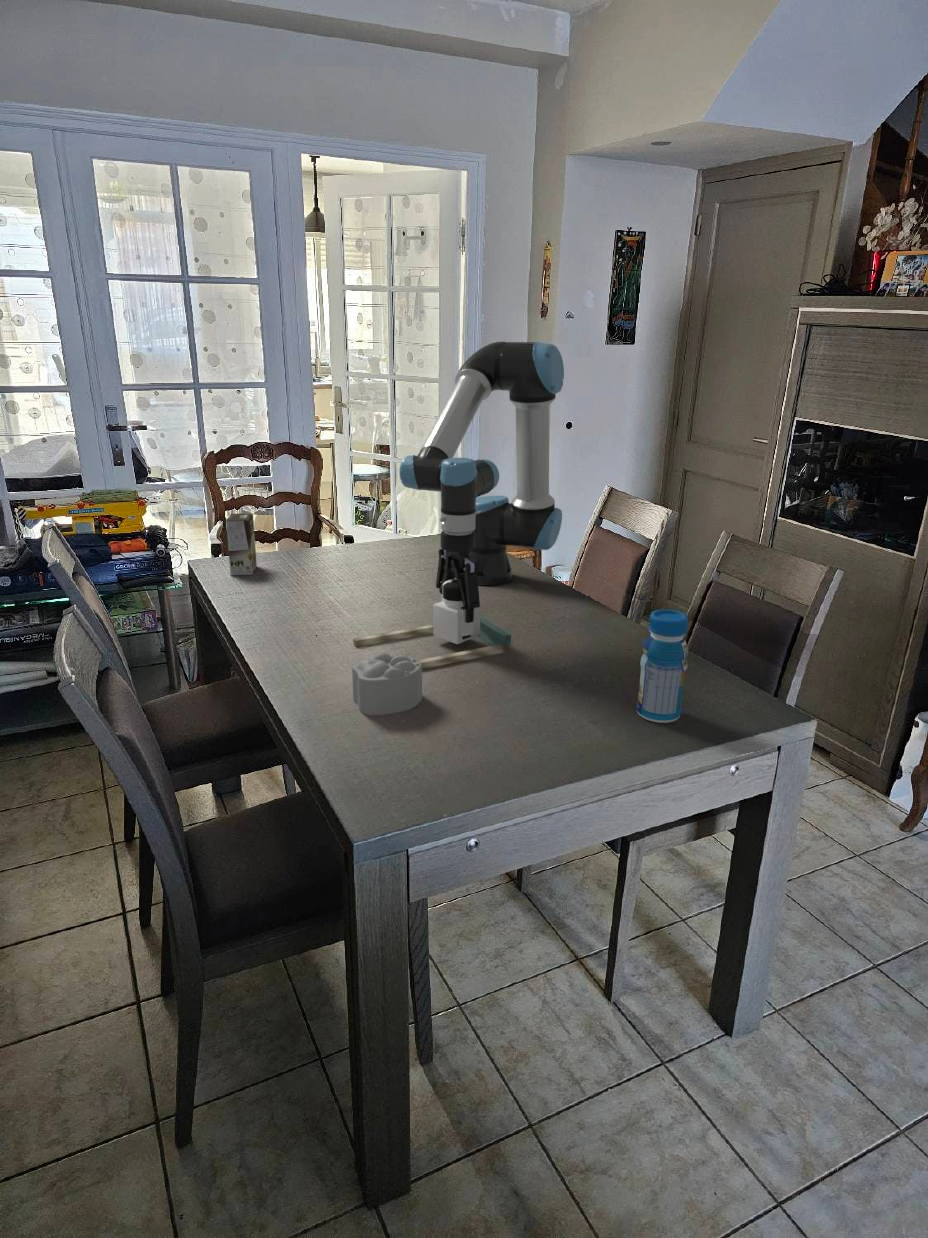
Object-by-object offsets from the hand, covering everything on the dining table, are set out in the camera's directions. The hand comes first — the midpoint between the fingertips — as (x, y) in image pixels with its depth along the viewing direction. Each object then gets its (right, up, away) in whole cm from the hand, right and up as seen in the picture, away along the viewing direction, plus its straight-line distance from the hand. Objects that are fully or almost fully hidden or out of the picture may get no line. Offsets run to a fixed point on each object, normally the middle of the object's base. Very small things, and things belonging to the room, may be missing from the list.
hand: (456, 627), depth 181 cm
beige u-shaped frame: (-6, -5, -2) cm, 7 cm away
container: (0, -2, +1) cm, 2 cm away
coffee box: (-62, +16, +50) cm, 82 cm away
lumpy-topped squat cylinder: (-13, -14, -27) cm, 33 cm away
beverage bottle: (+38, -16, -30) cm, 51 cm away
